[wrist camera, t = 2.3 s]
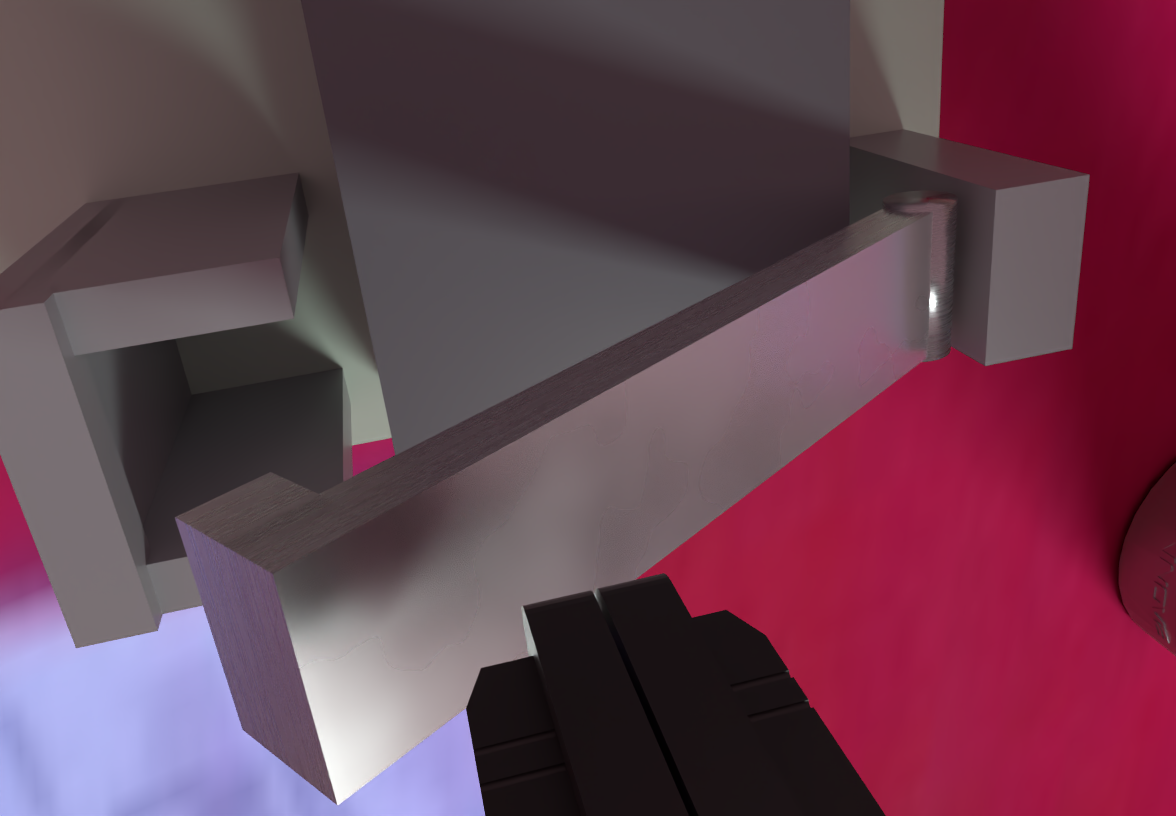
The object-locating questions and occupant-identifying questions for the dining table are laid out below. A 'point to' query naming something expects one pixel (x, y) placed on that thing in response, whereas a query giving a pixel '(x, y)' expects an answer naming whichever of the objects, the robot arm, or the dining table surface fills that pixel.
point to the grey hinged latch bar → (548, 495)
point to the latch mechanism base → (425, 227)
